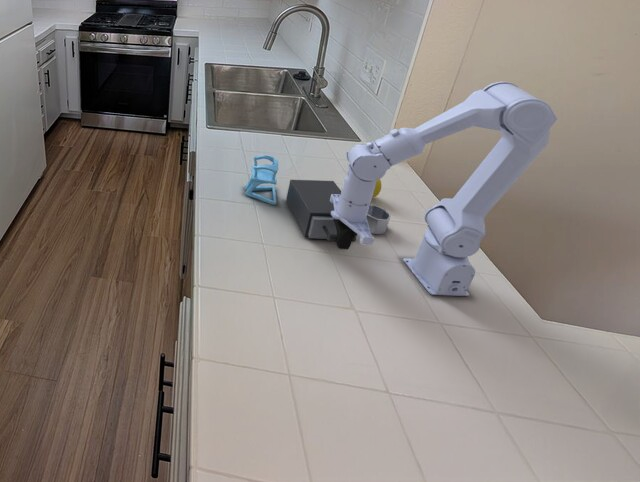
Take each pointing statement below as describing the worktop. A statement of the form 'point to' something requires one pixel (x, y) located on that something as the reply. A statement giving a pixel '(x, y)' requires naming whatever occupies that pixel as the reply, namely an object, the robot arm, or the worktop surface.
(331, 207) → the drawer cabinet
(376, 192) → the lemon
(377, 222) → the octagonal metal cup
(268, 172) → the chair
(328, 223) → the drawer
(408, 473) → the worktop surface
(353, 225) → the robot arm
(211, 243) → the worktop surface
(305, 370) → the worktop surface
